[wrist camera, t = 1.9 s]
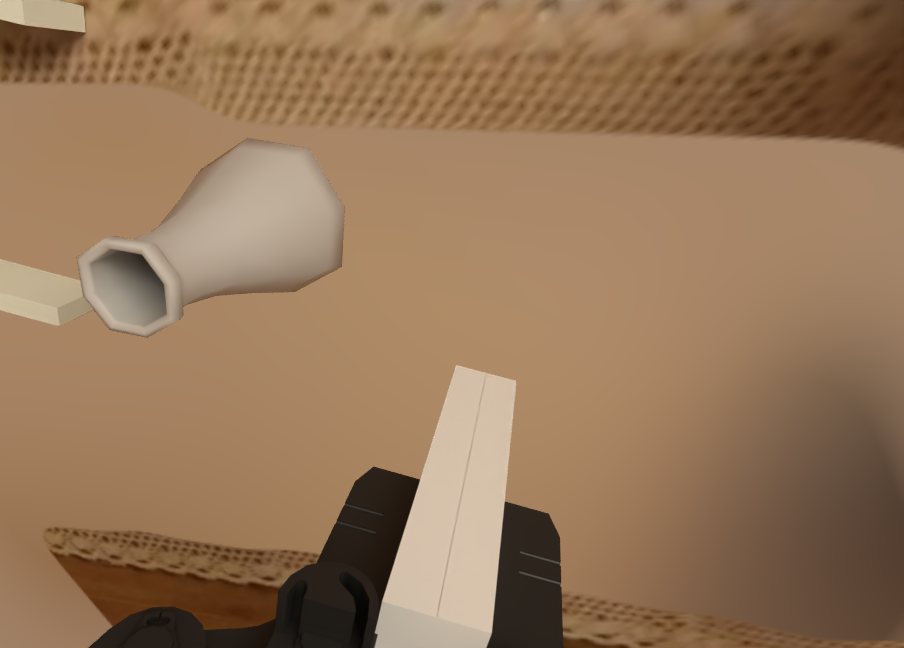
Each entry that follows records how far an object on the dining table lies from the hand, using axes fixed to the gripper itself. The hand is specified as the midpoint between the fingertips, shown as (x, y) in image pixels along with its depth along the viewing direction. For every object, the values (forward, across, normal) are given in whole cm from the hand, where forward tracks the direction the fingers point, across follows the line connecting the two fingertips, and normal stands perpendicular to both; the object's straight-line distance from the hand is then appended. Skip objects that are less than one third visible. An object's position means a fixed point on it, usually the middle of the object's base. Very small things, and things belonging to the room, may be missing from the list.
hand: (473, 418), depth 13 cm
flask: (+13, +11, 0) cm, 17 cm away
